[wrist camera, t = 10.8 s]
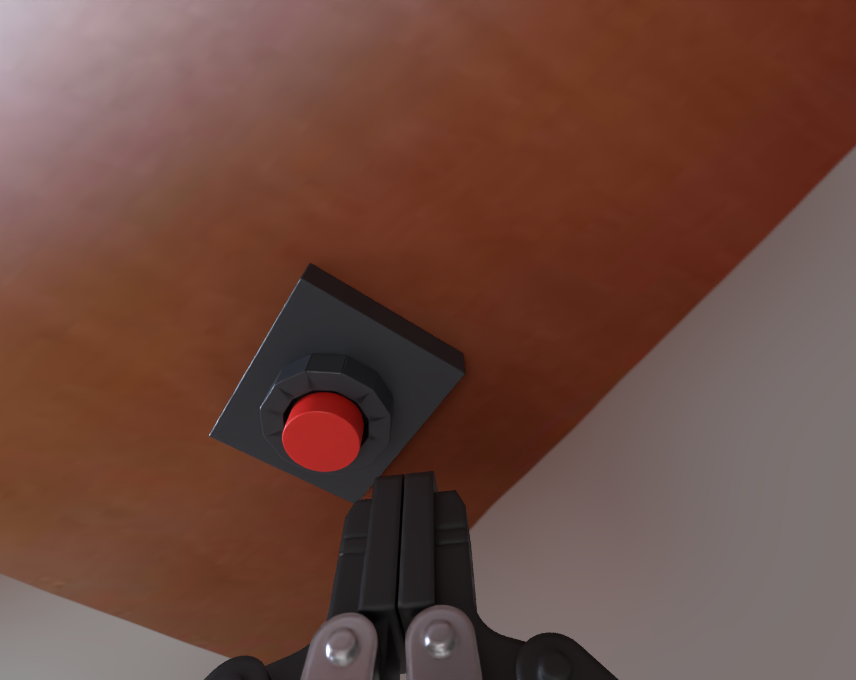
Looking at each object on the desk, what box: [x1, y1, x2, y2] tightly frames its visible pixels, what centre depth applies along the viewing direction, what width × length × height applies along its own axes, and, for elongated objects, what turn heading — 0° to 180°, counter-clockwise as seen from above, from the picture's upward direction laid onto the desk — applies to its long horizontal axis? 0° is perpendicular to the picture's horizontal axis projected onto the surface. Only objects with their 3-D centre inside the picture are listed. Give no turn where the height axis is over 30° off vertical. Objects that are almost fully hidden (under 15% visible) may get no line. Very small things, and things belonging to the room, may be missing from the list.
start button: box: [282, 392, 364, 472], centre depth 27 cm, size 4×4×2 cm
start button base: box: [209, 263, 465, 503], centre depth 29 cm, size 12×10×4 cm
